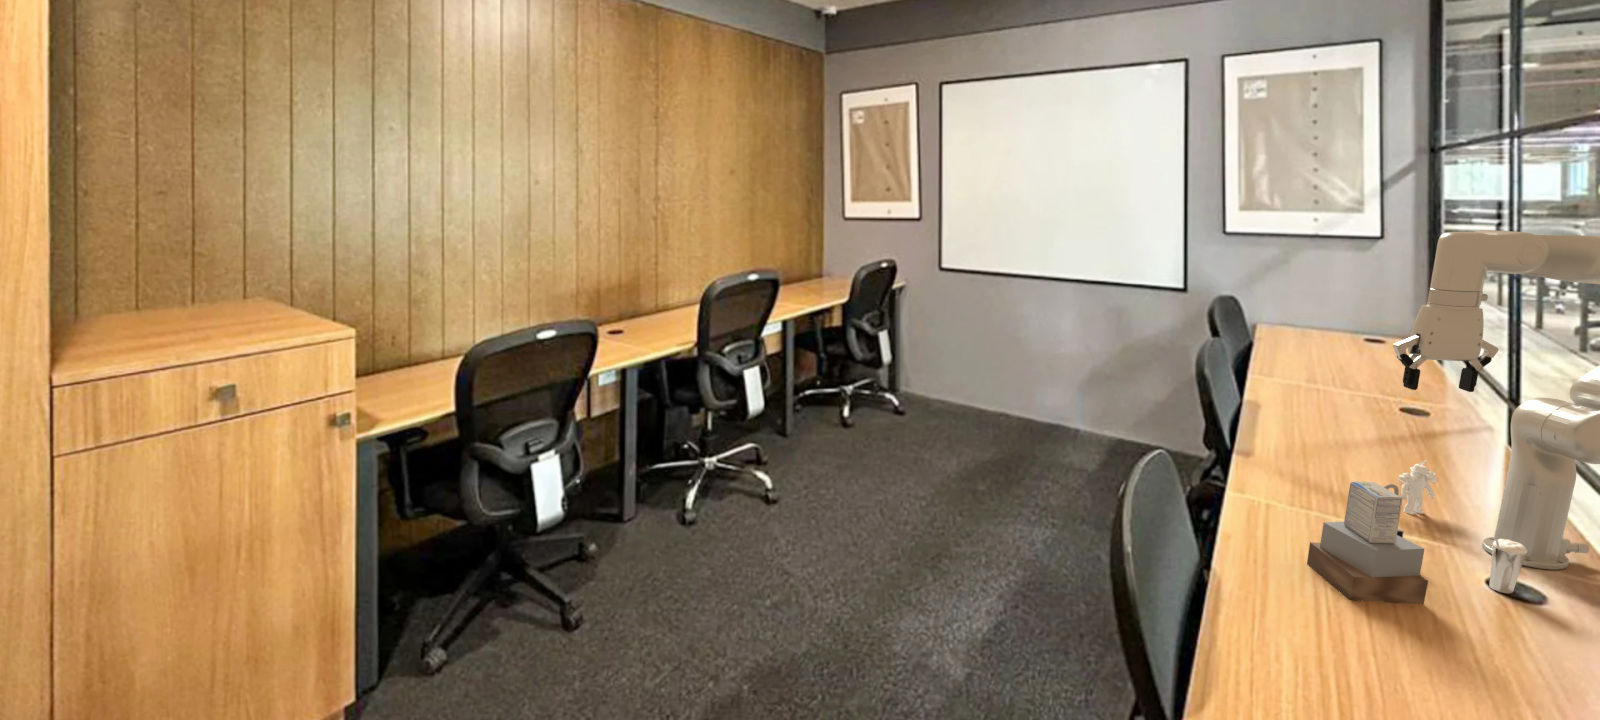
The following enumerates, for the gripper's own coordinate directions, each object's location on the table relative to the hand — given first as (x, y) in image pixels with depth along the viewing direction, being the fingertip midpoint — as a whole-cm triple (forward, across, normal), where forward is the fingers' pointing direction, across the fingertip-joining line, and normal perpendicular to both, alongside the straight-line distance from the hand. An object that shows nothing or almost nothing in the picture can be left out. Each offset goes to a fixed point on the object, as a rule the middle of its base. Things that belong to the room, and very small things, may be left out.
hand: (1437, 389), depth 148 cm
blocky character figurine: (+34, -14, -23) cm, 43 cm away
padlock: (+34, +7, +3) cm, 34 cm away
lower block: (+34, +16, +15) cm, 41 cm away
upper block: (+29, +16, +15) cm, 36 cm away
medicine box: (+24, +17, +15) cm, 33 cm away
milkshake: (+34, -7, +14) cm, 37 cm away
